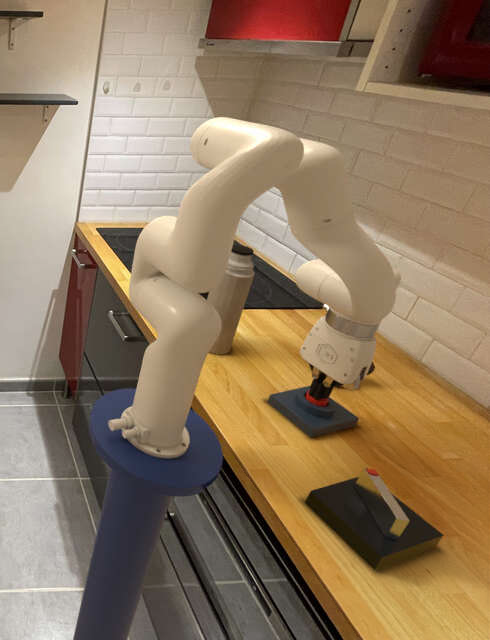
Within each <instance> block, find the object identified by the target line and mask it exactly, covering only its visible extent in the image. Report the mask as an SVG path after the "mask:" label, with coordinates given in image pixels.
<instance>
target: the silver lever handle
mask: <svg viewBox="0 0 490 640" xmlns="http://www.w3.org/2000/svg"><path fill="white" fill-rule="evenodd" d="M358 477H359V478H358V480H357V482H356V483H355V485H354V487H355V489H356V490H357V492H358V494H359V495H360V497H361V499H362V500H363V502H364V503H365V505H366V507H367V508H368V510H369V512H370V513H371V515H372V517H373V518H374V520H375V522H376V523H377V525H378V527H379V528H380V530H381V532H382V533H383V535H384V536H385V538H390V539H394V540H398V538H399V537H400V535H401V534H402V532H403V531H404V529H405V528H406V526H407V524H408V523H409V519H408V518H407V516H406V515H405V513H404V512H403V510H402V509H401V507H400V506H399V504H398V503H397V501H396V500H395V498H394V497H393V496H392V494H393V493H392V492H391V491H390V490H389V488H388V486H387V485H386V484H385V482H384V481H383V479H382V478H381V476H380V474H379V473H378V471H377V469H374V468H369V467H363V468H362V470H361V472H360V474H359V476H358ZM391 493H392V494H391Z"/></svg>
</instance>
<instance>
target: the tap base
mask: <svg viewBox="0 0 490 640" xmlns="http://www.w3.org/2000/svg"><path fill="white" fill-rule="evenodd" d="M358 478H359V476H357V477H352V478H349V479H346V480H343V481H339V482H335V483H332V484H329V485H324V486H322V487H319V488H315V489H312V490H310V491H309V493H308V495H307V497H306V499H305V501H304V504H305V505H306V506H307V507H308V508H309V509H310V510H311V511H312V512H313V513H315V515H317V516H318V518H320V519H321V520H322V521H323V522H324V523H325V524H326V525H327V526H328V527H329V528H330V529H331V530H332V531H333V532H334V533H335V534H337V535H338V537H339V538H340V539H341V540H342V541H344V542H345V543H346V544H347V545H348V546H349V547H350V548H351V549H352V550H353V551H354V552H355V553H356V554H357V555H358V556H359V557H360V558H361V559H362V560H363V561H365V563H366V564H367V565H368V566H370V568H371V569H373V570H374V571H376V570H377V569H380V568H384V567H386V566H389V565H391V564H394V563H397V562H399V561H402V560H405V559H408V558H411V557H413V556H416V555H419V554H421V553H425V552H426V551H429V550H432V549H435V548H436V547H437V546H438V544H439V543H440V541H442V539H443V538H444V536H445V534H443V533H442V532H440V531H439V530H438V529H437V528H435V527H434V526H433V525H432V524H430V523H429V522H428V521H427V520H425V519H424V518H423V517H422V516H420V515H419V514H418V513H416V511H414V510H413V509H412V508H410V507H409V506H408V505H407V504H406V503H404V502H403V501H402V500H401V499H399V498H398V497H397V496H396V495H394V494H393V493H392V492H390V493H391V494H392V496H393V497H394V498H395V500H396V501H397V503H398V504H399V506H400V507H401V509H402V510H403V512H404V513H405V515H406V516H407V518H408V519H409V523H408V524H407V526H406V528H405V529H404V531H403V532H402V534H401V535H400V537H399V538H398V540H394V539H390V538H385V536H384V535H383V533H382V532H381V530H380V528H379V527H378V525H377V523H376V522H375V520H374V518H373V517H372V515H371V513H370V512H369V510H368V508H367V507H366V505H365V503H364V502H363V500H362V499H361V497H360V495H359V494H358V492H357V490H356V489H355V487H354V485H355V483H356V482H357V480H358Z"/></svg>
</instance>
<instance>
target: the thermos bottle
mask: <svg viewBox="0 0 490 640" xmlns="http://www.w3.org/2000/svg"><path fill="white" fill-rule="evenodd" d="M253 255H254V249H253V248H251V247H249V246H247V245H243V244H233V246H232V250H231V254H230V257H229V261H228V265H227V268H226V271H225V274H224V276H223V279H222V281H221V282H220V284H219V285H218V286H217V287H216V288H215V289H213V290H212V291H209V292H208V295H207V298H206V300H207V301H208V302H209V303H210V304H211V305H212V306H213V307H214V308H215V309H216V311H217V312H218V314H219V316H220V318H221V323H222V328H221V332H220V334H219V336H218V338H217V340H216V341H215V343H214V344H213V346H212V348H211V349H210V351H209V353H211V354H215V355H226V354H228V353H230V351H231V348H232V345H233V342H234V339H235V335H236V332H237V330H238V326H239V324H240V320H241V317H242V314H243V311H244V308H245V305H246V302H247V299H248V296H249V293H250V290H251V286H252V284H253V280H254V276H255V271H254V270H253V269H254V268H255V267H254V266H255V265H254V262H253V261H252V257H253Z"/></svg>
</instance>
